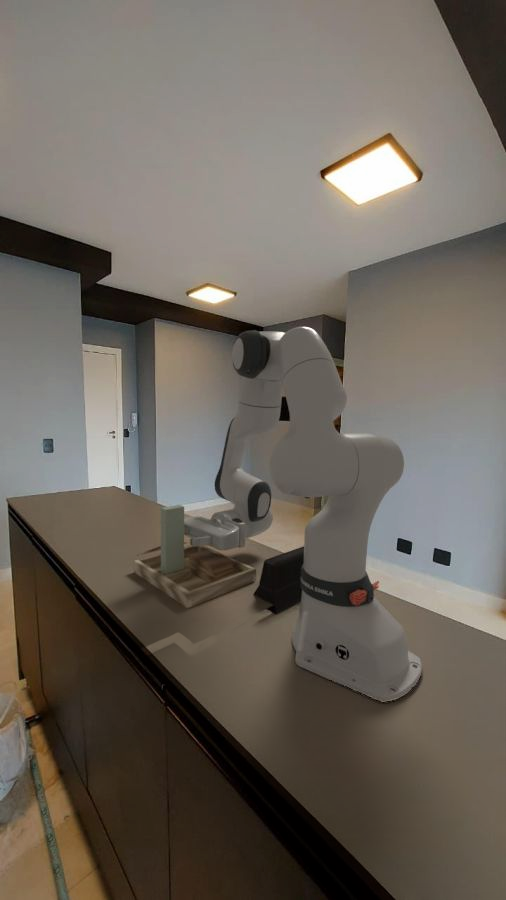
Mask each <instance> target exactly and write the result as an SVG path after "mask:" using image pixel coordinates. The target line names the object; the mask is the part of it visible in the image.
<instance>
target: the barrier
mask: <svg viewBox="0 0 506 900" xmlns="http://www.w3.org/2000/svg"><path fill="white" fill-rule="evenodd" d="M303 564H304V545H303V546H301V547H298V548H295V549H292V550H289V551H287V552H284V553H281V554H278V555H274V556H272V557H270V558H267V559H265V560H264V561H263V566H262V569H261V574H260V575H261V576H260V578H259V579H260V580H259V583H258V586H257V588H256V589H255V591H254V592H253V594H252V595H254V596H255V597H258V598H260V599H261V600H263V601H265V602H267V603H269V604H270V605H271V606H269V607H267V608H265V609H266V611H269V612H270V613H272V614H274V615H279V614H281V613H282V612H285V611H287V610H288V609H291V608H292V607H294V606H296V605H299V604H301V595H302V589H301V586H300V578H301V567H302V565H303Z"/></svg>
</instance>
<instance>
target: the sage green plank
mask: <svg viewBox="0 0 506 900" xmlns="http://www.w3.org/2000/svg"><path fill="white" fill-rule="evenodd" d="M184 518H185V506H183V505H181V504H176V505H169V506H165V507H160V546H161V550H160V554H161V574H162V575H167V574H170V573H173V572H176V571H179V570H183V569H184V547H185V544H184V543H185V535H184Z"/></svg>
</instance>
